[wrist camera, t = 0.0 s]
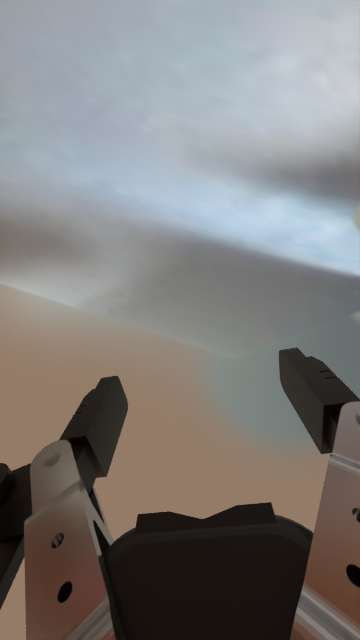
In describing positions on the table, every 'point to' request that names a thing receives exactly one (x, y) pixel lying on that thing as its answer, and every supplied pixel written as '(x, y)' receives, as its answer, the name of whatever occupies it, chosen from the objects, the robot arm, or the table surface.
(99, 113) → the table surface
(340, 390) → the robot arm
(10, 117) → the table surface
